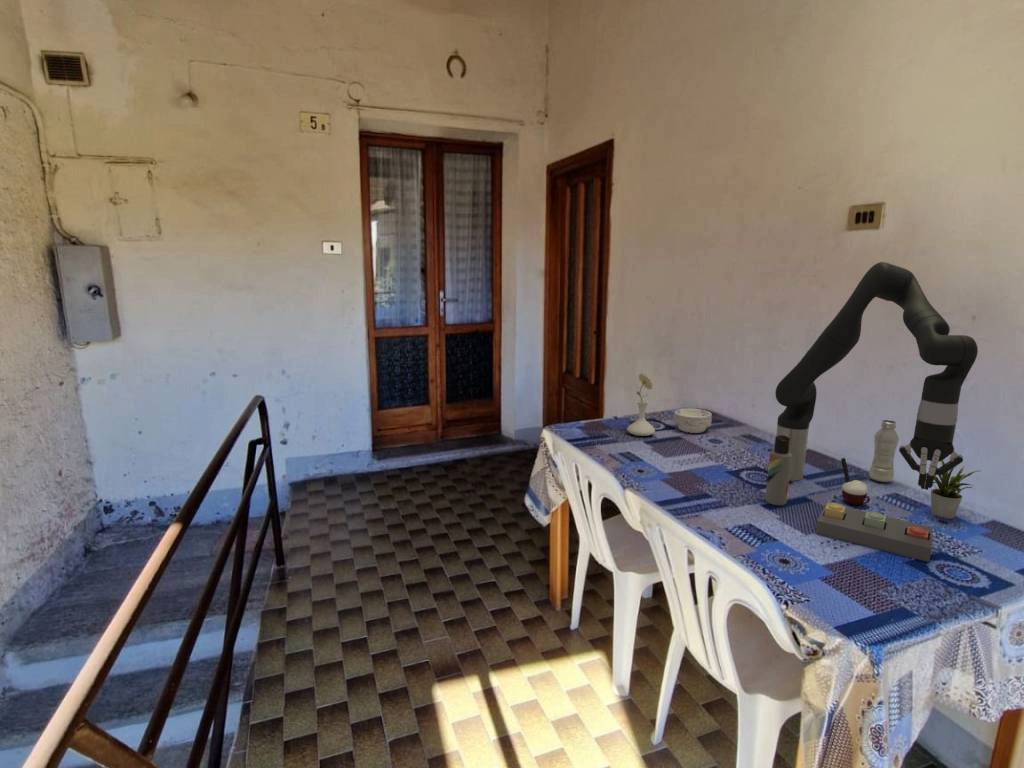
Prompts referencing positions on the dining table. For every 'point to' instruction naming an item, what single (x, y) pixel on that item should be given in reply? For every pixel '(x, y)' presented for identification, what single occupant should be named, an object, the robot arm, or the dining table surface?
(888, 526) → the panel
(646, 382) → the flower in vase
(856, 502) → the cocoa
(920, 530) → the red button
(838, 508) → the ochre button
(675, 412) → the paper bowls
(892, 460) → the plastic bottle
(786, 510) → the dining table surface
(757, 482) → the dining table surface
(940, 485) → the house plant
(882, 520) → the sage button
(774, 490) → the lotion bottle
